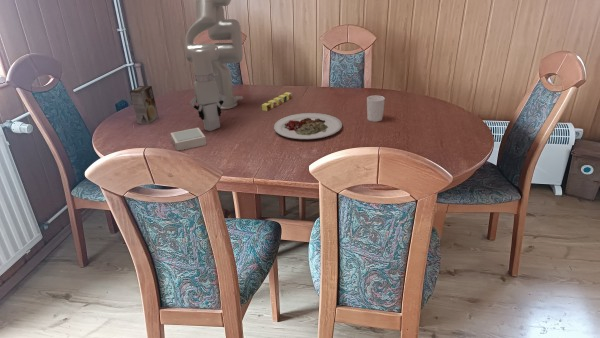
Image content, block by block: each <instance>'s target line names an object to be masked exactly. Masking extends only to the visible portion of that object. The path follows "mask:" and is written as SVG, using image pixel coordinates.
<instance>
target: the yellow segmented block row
mask: <svg viewBox="0 0 600 338" xmlns="http://www.w3.org/2000/svg"><path fill="white" fill-rule="evenodd" d="M292 99H293V92H287V91H286V92H284V93H283V94H281V95H278V97H277V96H276V97H274V98H273V99H270V100H268V101H267V102H264V103H262V104H261V110H262V111H264V112H268V111H270V110H272V109H274V108H276V107H277V106H280V105H282V104H283V103H285V102H288V100H292Z"/></svg>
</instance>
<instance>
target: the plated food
mask: <svg viewBox="0 0 600 338" xmlns="http://www.w3.org/2000/svg"><path fill="white" fill-rule="evenodd" d="M342 123H343V122H342V121H341V120H340V119H339V118H338V117H335V116H333V115H330V114H325V113H318V112H306V113H305V112H302V113H296V114H291V115H287V116H285V117H283V118H280V119H278V120H277V121H276V122H275V123H274V125H273V130H274V131H275V132H276V134H277V135H280V136H282V137H285V138H288V139H296V140H315V139H323V138H325V137H326V138H327V137H329V136H332V135H335V134H337V133H338V132H339V131H340V130H341V129H342V127H343V124H342Z"/></svg>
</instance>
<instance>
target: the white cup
mask: <svg viewBox="0 0 600 338" xmlns="http://www.w3.org/2000/svg"><path fill="white" fill-rule="evenodd" d="M385 99H386V98H385V97H384V96H382V95H369V96H367V97H366V113H367V116H366V117H367V121H369V122H375V123H376V122H381V121H382V120H383V116H384V109H385Z"/></svg>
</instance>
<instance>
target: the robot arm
mask: <svg viewBox="0 0 600 338" xmlns="http://www.w3.org/2000/svg"><path fill="white" fill-rule="evenodd" d="M231 2H232V0H195V21H194V22H193V23H192V24H191V26H190V27H189V28H188V30H187V32H186V33H185V36H184V37H185V39H184V56H185V58H186V60H187V61H188V62H190V63H192V67H193V71H194V78H195V81H194V82H193V92H194V96H193V98H192V99H191V101H189V105H190V106H191V107H193V109H195V110H197V113H198V118H200V119H201V120H202V121H203V119H204V117H203V111H202V106H203V105H206V104H211V103H216V104H217V109H218V116H219V117H221V114H222V110H229V109H233V108H236V107H237V106H238V101H243V100H244V97H243V96H242V95H241V96H239V95H236V96H235V95H234V90H233V82H232V73H231V70H230V68H229V66H227V65H226V64H234V63H235V64H237V63H241V62H242V61H243V57H244V55H243V39H242V29H241V25H240V22H239V21H238V20H237V19H233V18H226V17H225V8H224V7H227V6H229V5H230V3H231ZM225 18H226V19H225ZM205 31H207V35H208V37H209V39H211V40H212V41H231V42H218V43H194V42H195V39H196V38H197V37H198V36H199V35H200V34H202V33H204V32H205ZM195 103H197V105H196V104H195Z"/></svg>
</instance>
